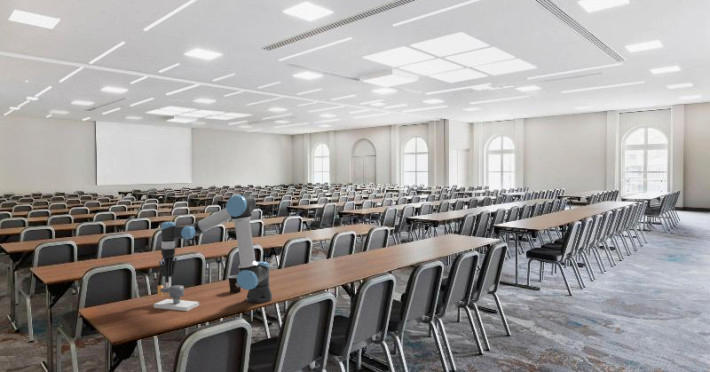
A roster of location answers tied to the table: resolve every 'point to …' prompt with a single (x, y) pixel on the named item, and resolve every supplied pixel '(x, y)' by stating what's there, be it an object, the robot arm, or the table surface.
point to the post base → (176, 304)
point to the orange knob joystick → (171, 291)
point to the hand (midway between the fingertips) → (168, 287)
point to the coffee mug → (234, 284)
